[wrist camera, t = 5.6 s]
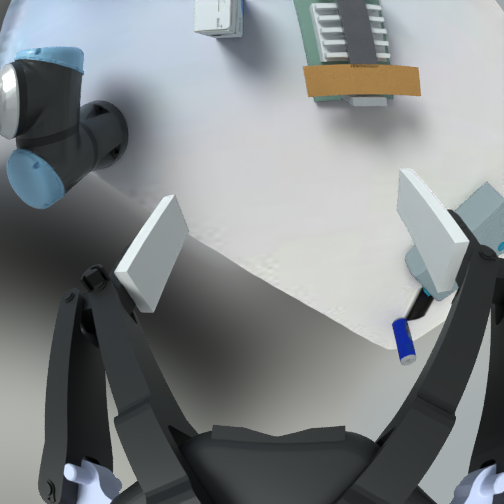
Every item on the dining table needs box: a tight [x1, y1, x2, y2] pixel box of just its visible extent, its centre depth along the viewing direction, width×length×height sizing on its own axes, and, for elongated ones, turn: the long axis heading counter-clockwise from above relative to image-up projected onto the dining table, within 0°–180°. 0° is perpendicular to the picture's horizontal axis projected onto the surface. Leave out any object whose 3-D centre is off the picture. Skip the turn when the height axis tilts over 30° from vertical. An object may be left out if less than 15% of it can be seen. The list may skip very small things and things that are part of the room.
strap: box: [303, 0, 421, 97], centre depth 25 cm, size 17×20×2 cm
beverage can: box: [392, 318, 416, 365], centre depth 70 cm, size 5×5×15 cm
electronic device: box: [405, 182, 504, 301], centre depth 50 cm, size 17×31×10 cm, turn 144°
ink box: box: [194, 0, 243, 38], centre depth 27 cm, size 8×5×12 cm, turn 179°
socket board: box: [293, 0, 393, 106], centre depth 27 cm, size 14×24×12 cm, turn 12°
